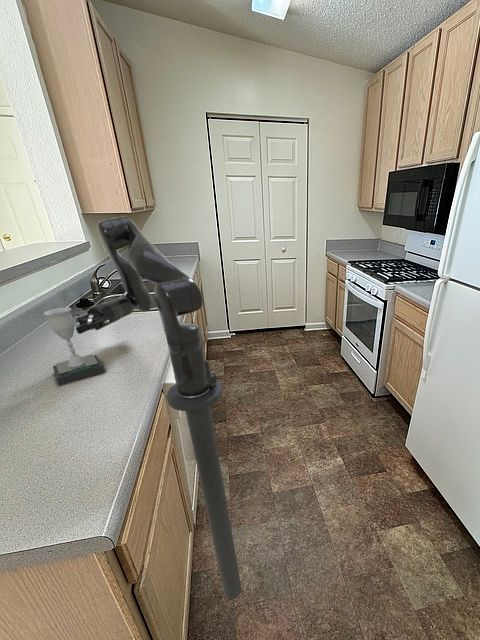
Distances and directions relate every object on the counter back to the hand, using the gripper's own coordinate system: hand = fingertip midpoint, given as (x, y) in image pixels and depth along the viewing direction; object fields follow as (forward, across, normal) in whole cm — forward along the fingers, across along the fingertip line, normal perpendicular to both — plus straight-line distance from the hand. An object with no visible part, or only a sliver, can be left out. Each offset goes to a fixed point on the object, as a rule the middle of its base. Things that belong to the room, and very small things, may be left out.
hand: (67, 329), depth 105 cm
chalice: (+1, 0, +12) cm, 12 cm away
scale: (+1, +1, +15) cm, 15 cm away
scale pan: (+1, 0, +12) cm, 12 cm away
